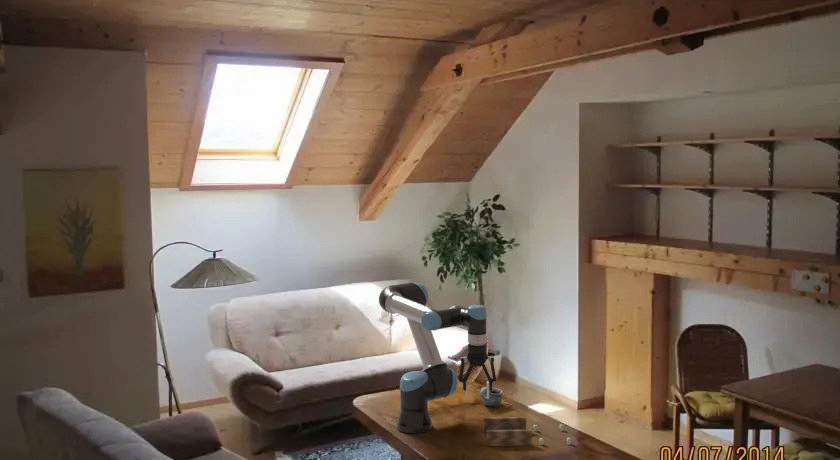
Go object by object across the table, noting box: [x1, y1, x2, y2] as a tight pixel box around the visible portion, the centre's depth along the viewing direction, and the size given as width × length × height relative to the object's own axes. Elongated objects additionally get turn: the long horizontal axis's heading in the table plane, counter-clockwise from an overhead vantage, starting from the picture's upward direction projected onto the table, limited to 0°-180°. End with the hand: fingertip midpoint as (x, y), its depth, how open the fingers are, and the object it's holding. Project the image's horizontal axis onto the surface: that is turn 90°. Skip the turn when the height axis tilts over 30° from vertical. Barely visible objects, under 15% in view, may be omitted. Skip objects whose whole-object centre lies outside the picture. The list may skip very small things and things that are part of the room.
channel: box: [482, 416, 533, 447], centre depth 309 cm, size 18×16×6 cm
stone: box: [493, 422, 515, 430], centre depth 308 cm, size 10×8×10 cm
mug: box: [479, 386, 503, 408], centre depth 348 cm, size 10×12×10 cm
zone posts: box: [533, 423, 572, 446], centre depth 309 cm, size 13×17×2 cm
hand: (477, 397), depth 307 cm, fingers open, 8 cm apart
